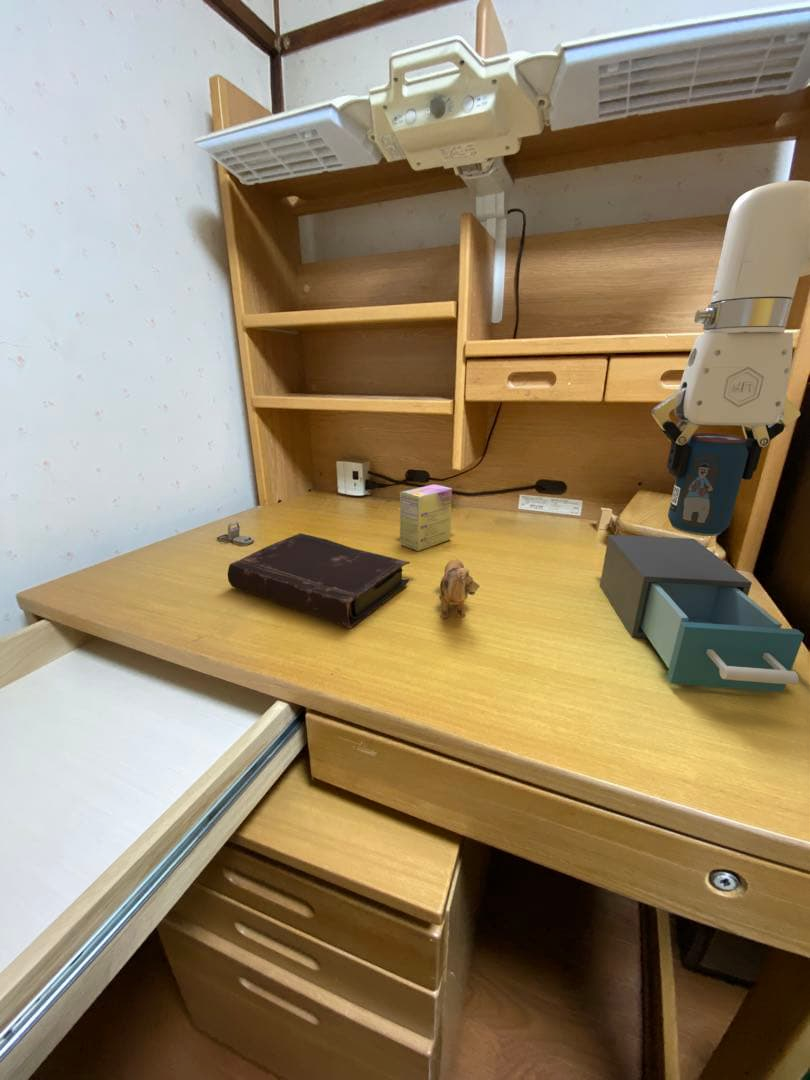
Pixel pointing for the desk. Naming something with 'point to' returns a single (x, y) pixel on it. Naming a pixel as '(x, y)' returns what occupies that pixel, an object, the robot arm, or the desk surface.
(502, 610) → the desk surface
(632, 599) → the drawer cabinet casing
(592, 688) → the desk surface
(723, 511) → the soda can
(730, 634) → the teal drawer
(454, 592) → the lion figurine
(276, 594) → the diary
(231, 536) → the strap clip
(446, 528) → the box
